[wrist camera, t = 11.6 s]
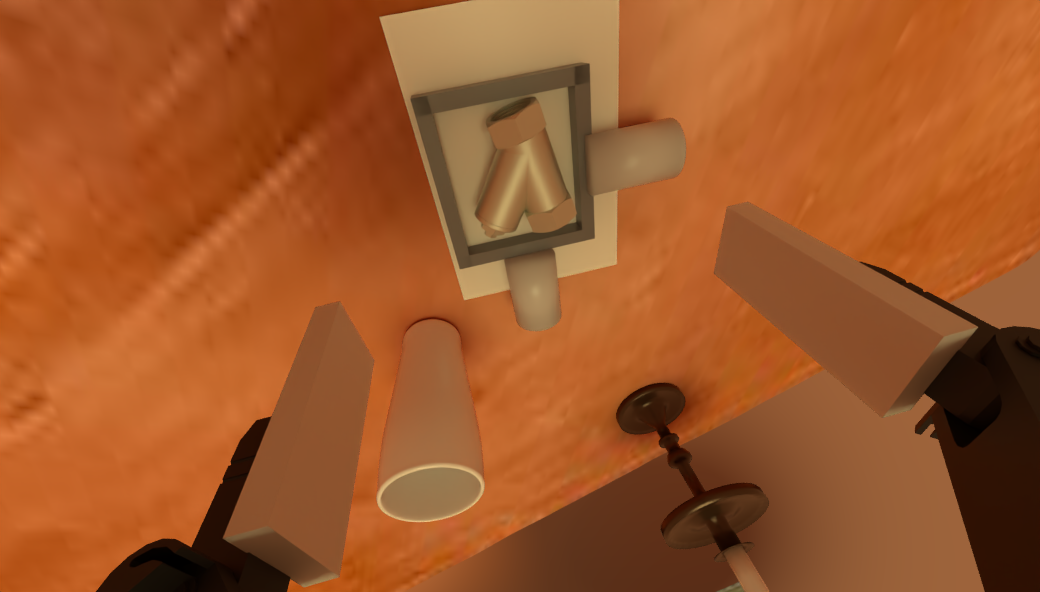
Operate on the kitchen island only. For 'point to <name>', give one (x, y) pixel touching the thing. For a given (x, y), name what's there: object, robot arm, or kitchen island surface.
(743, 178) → the kitchen island surface
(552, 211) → the pipe fitting
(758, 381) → the kitchen island surface
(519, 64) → the coupling board
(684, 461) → the candlestick
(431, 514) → the drinking glass
